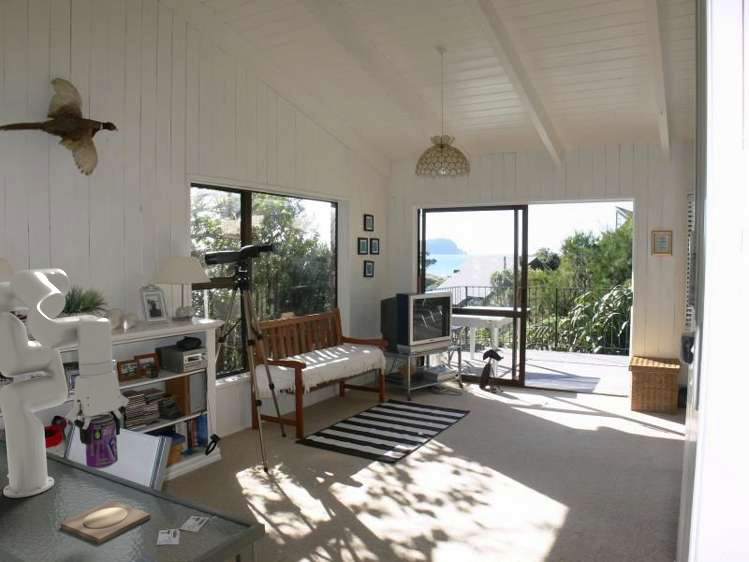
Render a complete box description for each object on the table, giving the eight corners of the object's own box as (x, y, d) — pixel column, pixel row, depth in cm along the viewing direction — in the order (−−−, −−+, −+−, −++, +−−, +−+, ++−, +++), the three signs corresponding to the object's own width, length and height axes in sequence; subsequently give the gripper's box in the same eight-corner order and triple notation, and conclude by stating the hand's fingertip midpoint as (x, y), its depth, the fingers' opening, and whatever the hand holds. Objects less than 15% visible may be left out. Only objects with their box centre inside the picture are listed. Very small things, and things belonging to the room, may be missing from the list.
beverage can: (105, 471, 142) (103, 422, 141) (80, 469, 143) (77, 421, 142) (124, 460, 149) (121, 414, 148) (99, 458, 150) (96, 413, 149)
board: (60, 527, 145) (60, 521, 145) (111, 504, 157) (111, 499, 157) (100, 543, 137) (99, 537, 137) (150, 518, 149) (150, 512, 149)
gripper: (118, 360, 153) (122, 426, 155) (52, 374, 139) (58, 447, 140) (136, 362, 149) (140, 430, 151) (71, 377, 135) (76, 452, 136)
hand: (100, 438), depth 145 cm, fingers closed on beverage can, 7 cm apart
